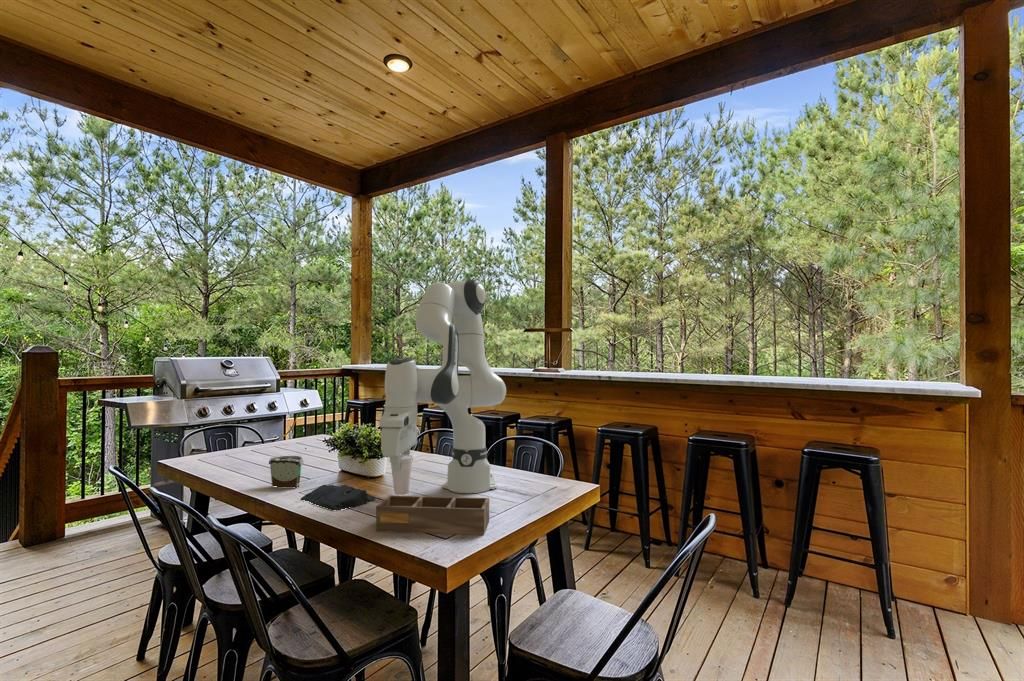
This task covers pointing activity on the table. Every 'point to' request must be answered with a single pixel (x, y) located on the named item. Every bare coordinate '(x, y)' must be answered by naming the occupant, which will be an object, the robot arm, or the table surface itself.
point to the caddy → (433, 515)
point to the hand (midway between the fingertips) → (400, 467)
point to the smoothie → (402, 475)
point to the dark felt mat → (338, 497)
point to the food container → (286, 471)
